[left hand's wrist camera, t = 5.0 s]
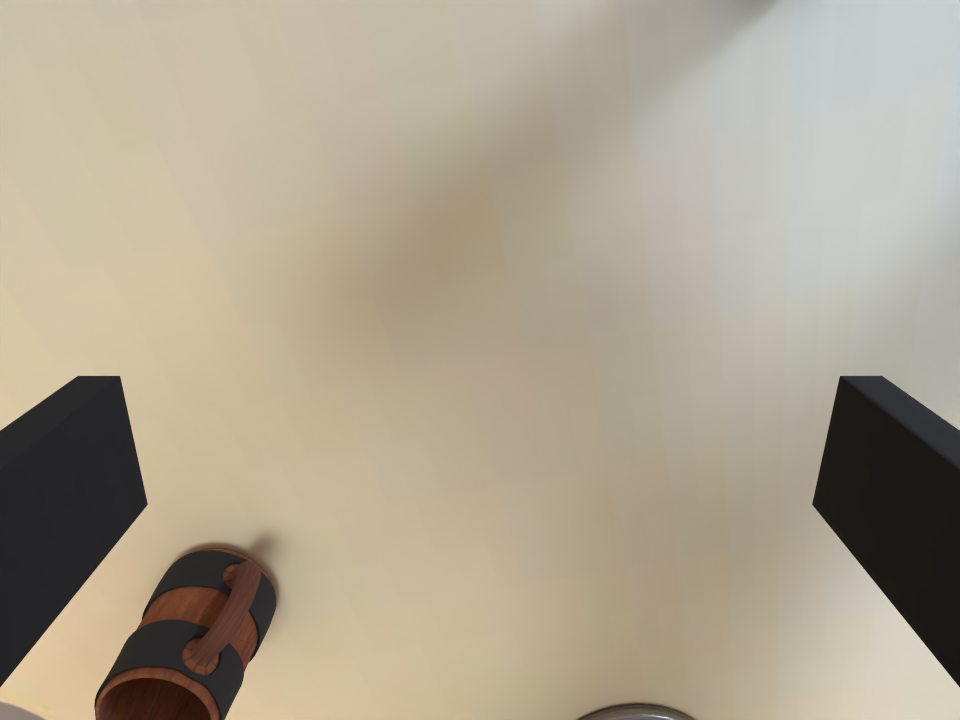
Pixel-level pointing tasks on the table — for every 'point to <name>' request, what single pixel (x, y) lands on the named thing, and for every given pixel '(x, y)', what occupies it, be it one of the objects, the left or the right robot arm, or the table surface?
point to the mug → (191, 641)
